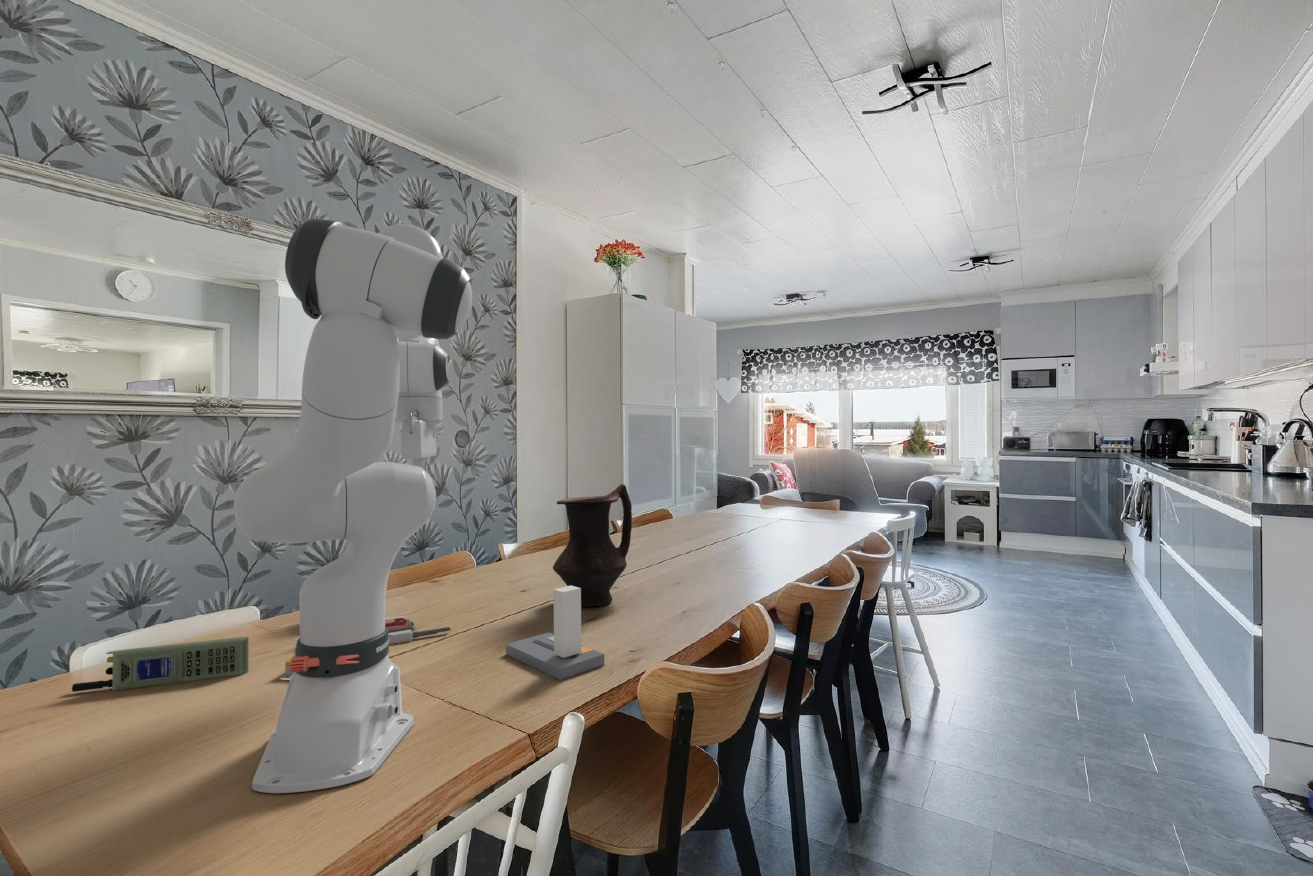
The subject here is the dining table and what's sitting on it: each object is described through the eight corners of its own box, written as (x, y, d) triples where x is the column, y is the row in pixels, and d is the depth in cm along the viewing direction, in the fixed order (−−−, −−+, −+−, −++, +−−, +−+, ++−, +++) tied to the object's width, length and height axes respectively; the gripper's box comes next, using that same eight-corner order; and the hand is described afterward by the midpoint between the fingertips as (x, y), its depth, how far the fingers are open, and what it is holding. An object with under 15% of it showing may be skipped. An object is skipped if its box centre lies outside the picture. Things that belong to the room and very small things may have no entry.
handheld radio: (245, 676, 110) (67, 699, 101) (249, 671, 113) (77, 692, 104) (245, 639, 110) (67, 658, 101) (249, 634, 113) (78, 652, 104)
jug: (568, 617, 143) (567, 490, 143) (543, 599, 159) (542, 484, 159) (648, 605, 153) (647, 486, 153) (616, 589, 169) (615, 481, 169)
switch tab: (554, 654, 113) (553, 589, 113) (571, 648, 116) (571, 585, 116) (563, 658, 111) (563, 592, 111) (581, 652, 114) (580, 588, 113)
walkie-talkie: (348, 654, 121) (451, 636, 131) (347, 631, 121) (451, 616, 131) (345, 641, 129) (443, 625, 139) (345, 620, 129) (443, 606, 139)
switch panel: (506, 654, 119) (506, 643, 119) (548, 641, 126) (548, 631, 126) (560, 680, 106) (560, 668, 106) (604, 664, 113) (604, 653, 113)
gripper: (427, 409, 114) (428, 483, 114) (442, 414, 134) (443, 477, 134) (391, 409, 113) (392, 484, 113) (412, 414, 133) (413, 477, 133)
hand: (420, 480), depth 123 cm, fingers closed
